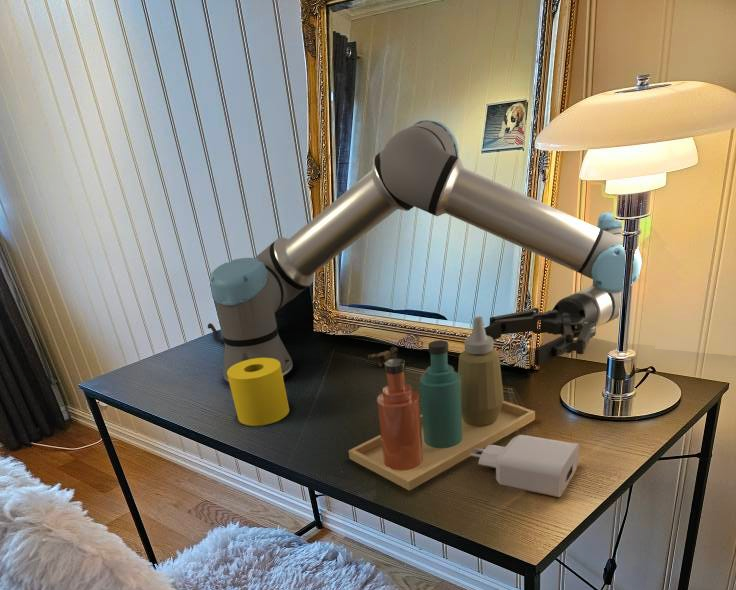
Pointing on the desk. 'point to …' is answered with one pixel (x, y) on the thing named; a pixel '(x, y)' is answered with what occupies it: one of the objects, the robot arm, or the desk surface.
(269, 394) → the yellow toilet paper roll
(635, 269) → the robot arm
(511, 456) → the charger
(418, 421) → the terracotta bottle
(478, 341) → the squeeze bottle
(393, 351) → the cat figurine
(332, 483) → the desk surface
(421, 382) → the teal bottle
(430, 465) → the tray
